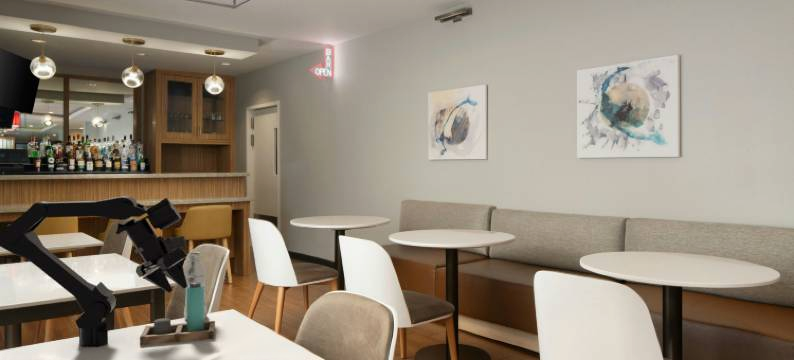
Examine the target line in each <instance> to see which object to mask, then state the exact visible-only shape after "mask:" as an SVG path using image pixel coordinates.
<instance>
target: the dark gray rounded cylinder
mask: <svg viewBox="0 0 794 360" xmlns="http://www.w3.org/2000/svg"><path fill="white" fill-rule="evenodd" d="M153 326H154V335H157V334H169V333H171V319H170V318H165V317H164V318H163V317H162V318H158V319H154V321H153Z"/></svg>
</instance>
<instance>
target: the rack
mask: <svg viewBox="0 0 794 360" xmlns="http://www.w3.org/2000/svg"><path fill="white" fill-rule="evenodd" d="M215 332H216V321H215V320H212V321H204V331H194V332H187V322H186V323H185V322H184V323H172V324H171V333H169V334H157V335H154V325H145V327H144V328H143V331H142V332H141V335H140V336H139V346H147V345H160V344H161V345H162V344H171V343H172V344H173V343H182V342H183V343H185V342H195V341H196V342H197V341H205V340H214V339H215Z"/></svg>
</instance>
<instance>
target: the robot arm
mask: <svg viewBox="0 0 794 360" xmlns="http://www.w3.org/2000/svg"><path fill="white" fill-rule="evenodd" d="M144 215H145V216H144ZM142 216H144V217H142ZM70 217H71V218H77V217H80V218H81V217H100V218H103V219H111V220H118V221H125V220H128V219H130V218H131V217H132V218H131V219H130V220H128V221H126V222H124V223H123V222H118V223H117V229H116V231H115V234H116V235H120V234H121V233H123V232H125V233H126V235H127V237H128V238H129V239H130V241H131V242H132V244H133V245H134V247H135V249H134V250H133V251H134V252H135V254H138V253H139V255H140V256H141V257H142V259H143V260H144V262H142V263H141V264H138V266H136V269H135V273H136V274H137V276H138V277H139V278H141V277H142V279H143V280H145V281H147V282H150V283H151V284H152V285H155V286H156V287H158V288H160V289H162V290H163V291H165V292H167V293H168V294H169V293H171V292H172V291H173V287H172V286H171V283H170V282H169V279H171V280H172V281H173V282H174V283H176V285H178V286H179V287H180V288H182V289H183V290H185V288H186V287H187V282H186V278H185V275H184V264H185V261H186V259H187V257H188V253H187V252H186V251H185V249H184V248H187V242H186V238H185V236H184V235H181V236H177V237H172V236H168V237H163V236H161V235H159V236H158V235H157V234H156V232H155V231H154V230H158V229H159V230H160V231H163V230H165V229H166V228H168V227H170V226H172V225H174V224H176V223H178V222H179V221H180V220H182V217H181V214H180V212H179V210H178V209H177V207H176V206H175V205H173V203H172V202H171V201H170V199H169V198H168V197H165V198H163V199H162V200H160V201H159V202H158V203H156V204H154V205H151V206H150V207H149V206H147V205H144V204H141V203H138V202H137V200H136V199H135V198H134V197H133V196H131V195H123V196H115V197H110V198H105V199H101V200H85V201H84V200H81V201H78V200H77V201H75V200H74V201H45V200H44V201H43V200H42V201H38V202H35V203H33V204H32V205H31V206H30V207H29V208H28V209H27V210H26V211H24V213H22V214H21V215H20V216H19V217H17V218H16V219H15V220H14V221H12V222H11V223H10V224H8V225H3V226H1V227H0V248H2V249H3V250H5V251H7V252H9V253H11V254H13V255H16V256H19V257H20V258H24V259H26V260H28V261H29V262H31V263H32V264H33V265H34V266H36V267H37V268H38V269H39V270H41V271H42V272H43V273H44V274H46V275H47V276H48V277H49V278H50V279H51V280H53V281H54V282H55V283H57V284H58V285H59V286H61V287H62V288H63V289H65V291H67V292H68V293H69V294H71V295H72V296H73V297H74V298H75V300H76V302H77V304H78V305H79V307H80V309H81V310H82V311H83V312H82V313H81V314H80V316H78V317H77V319H75V324H76V326H77V327H78V338H79V340H78V341H79V342H78V344H79V345H80V346H81V347H82V348H100V347H103V346H106V345H108V344H109V329H108V322H106V320H105V319H106V318H107V317H108V316H109V315H110V313H111V312H112V311H113V309H115V307H116V305H117V304H116V303H117V298H116V297H115V295H114V290H112V289H110V288H109V287H107V286H106V285H105V284H104V283H103V282H102V281H100V282H99V283H97V285H96V284H93V283H91V282H89V281H87V280H86V279H84V277H82V276H81V275H79V274H78V273H77V272H76V271H75V270H73V269H72V268H71V267H70V266H69V265H67V264H66V263H65V262H63V261H62V259H60V258H59V257H58V256H56V255H55V254H54V253H53V252H51V251H50V250H49V249H48V248H46V247H45V246H44V244H43V243H42V241H41V239H40V238H39V236H38V235H37V233H36V232H35V230H36V229H38V227H40V225H41V224H42V223H43V222H44V221H45V219H47V218H70ZM133 217H134V218H133ZM135 217H136V218H137V217H139V218H140V217H142V218H140V219H139V220H138V219H136V218H135ZM153 228H154V229H153ZM168 278H169V279H168Z"/></svg>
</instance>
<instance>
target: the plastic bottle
mask: <svg viewBox="0 0 794 360" xmlns="http://www.w3.org/2000/svg"><path fill="white" fill-rule="evenodd" d="M202 259H203V258H202V253H201V252H190V253H187V261H188V262H187V264H185V267H183V271H184V275H185V278H186V282H187V286H189V284H190V283H193V282H200V283H201V285H204V320H205V319H207V316H208V306H207V303H206V294H205V292H206V290H205V289H206V278H207V269H206V266H205V265H204V264H203V263H202ZM184 290H185V291H186V288H185V289H184ZM183 318H184V320H185V321H187V311H186V298H185V302H184V307H183Z"/></svg>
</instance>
